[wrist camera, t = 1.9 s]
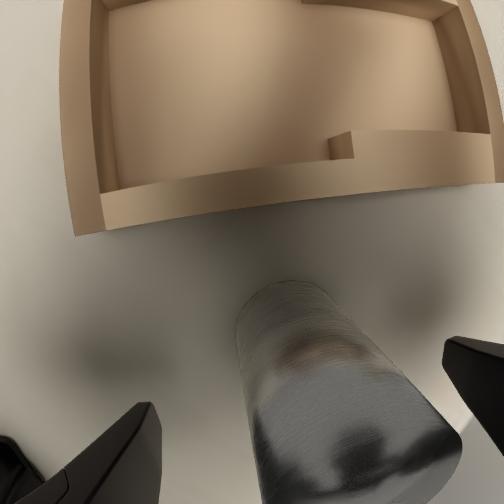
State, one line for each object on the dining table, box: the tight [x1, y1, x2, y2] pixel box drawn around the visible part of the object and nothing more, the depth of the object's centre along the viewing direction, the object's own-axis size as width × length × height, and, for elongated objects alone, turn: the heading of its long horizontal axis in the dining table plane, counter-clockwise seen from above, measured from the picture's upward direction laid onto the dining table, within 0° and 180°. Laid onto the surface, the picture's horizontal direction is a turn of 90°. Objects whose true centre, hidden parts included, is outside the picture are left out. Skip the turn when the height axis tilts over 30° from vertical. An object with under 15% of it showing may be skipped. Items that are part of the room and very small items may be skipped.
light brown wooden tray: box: [59, 0, 504, 236], centre depth 9 cm, size 15×9×2 cm, turn 97°
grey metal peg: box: [236, 281, 462, 504], centre depth 8 cm, size 4×4×8 cm
